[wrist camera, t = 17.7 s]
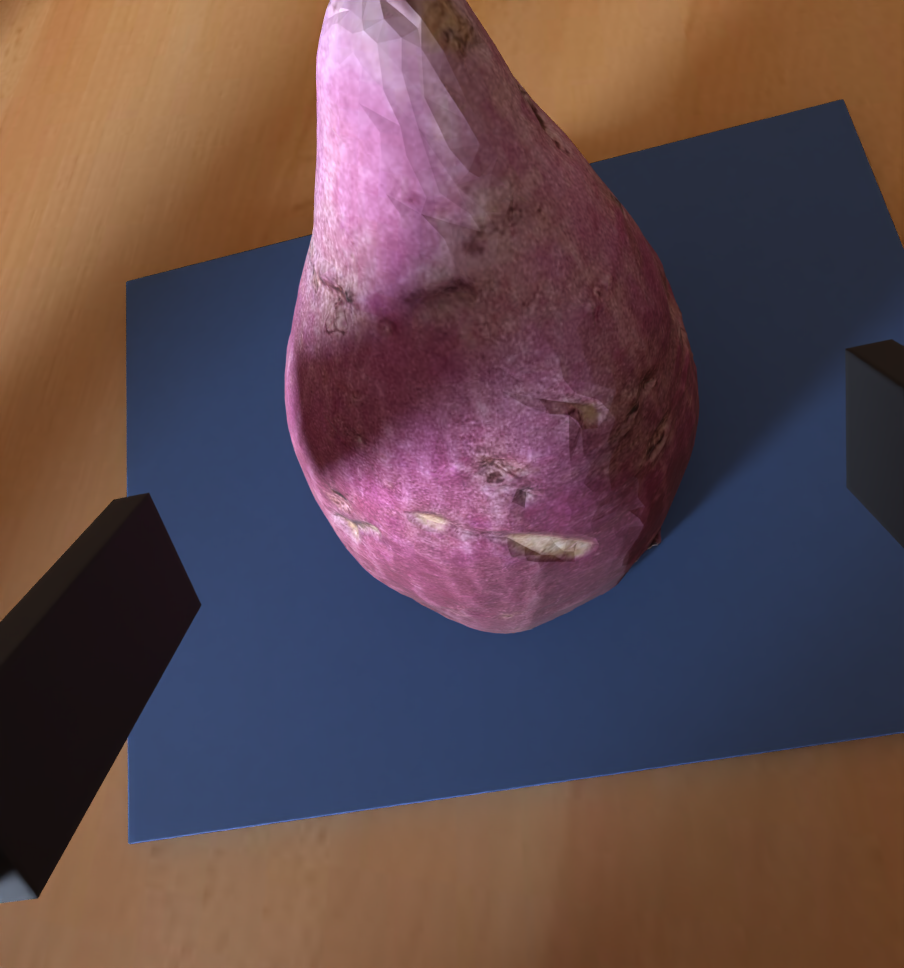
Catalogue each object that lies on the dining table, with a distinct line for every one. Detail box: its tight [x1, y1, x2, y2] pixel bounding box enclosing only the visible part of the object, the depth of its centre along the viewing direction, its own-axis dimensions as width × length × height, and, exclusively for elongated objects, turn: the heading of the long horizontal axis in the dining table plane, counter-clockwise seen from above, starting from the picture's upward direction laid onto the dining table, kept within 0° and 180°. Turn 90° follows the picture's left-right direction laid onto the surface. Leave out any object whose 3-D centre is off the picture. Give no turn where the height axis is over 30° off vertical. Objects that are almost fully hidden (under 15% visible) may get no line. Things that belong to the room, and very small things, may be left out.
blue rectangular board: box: [126, 99, 904, 844], centre depth 22 cm, size 24×18×1 cm
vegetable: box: [285, 0, 699, 634], centre depth 17 cm, size 10×10×15 cm
